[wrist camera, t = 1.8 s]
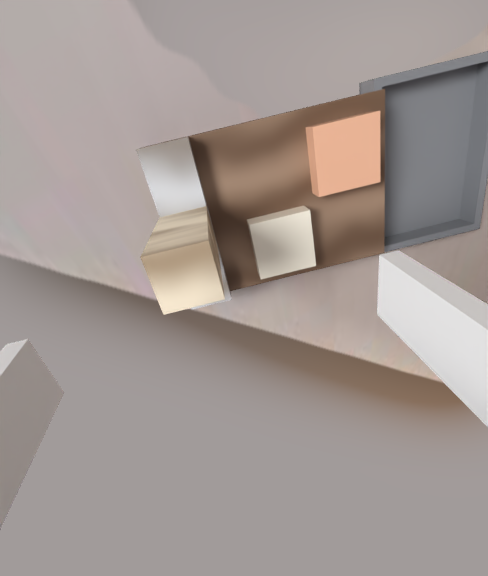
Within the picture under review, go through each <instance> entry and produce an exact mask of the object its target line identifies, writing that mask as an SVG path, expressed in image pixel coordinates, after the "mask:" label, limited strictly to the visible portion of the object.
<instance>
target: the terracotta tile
mask: <svg viewBox="0 0 488 576" xmlns="http://www.w3.org/2000/svg"><path fill="white" fill-rule="evenodd" d="M306 137H307V146H308V156H309V165H310V175H311V185H312V193H313V194H314V195H316V196H318V197H322V196H326V195H330V194H334V193H338V192H342V191H346V190H350V189H354V188H358V187H362V186H366V185H370V184H375V183H379V182H380V111H372V112H366V113H362V114H358V115H354V116H350V117H346V118H342V119H337V120H333V121H329V122H325V123H321V124H317V125H313V126H309V127H306Z"/></svg>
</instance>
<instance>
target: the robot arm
mask: <svg viewBox="0 0 488 576" xmlns="http://www.w3.org/2000/svg"><path fill="white" fill-rule="evenodd" d="M377 315H378V316H379V317H380V318H381V319H382V320H383V321H384V322H385V323H386V324H387V325H388V326H389V327H390V328H391V329H392V330H393V331H394V332H395V333H396V334H397V335H398V336H399V337H400V338H401V339H402V340H403V341H404V342H405V343H406V344H407V345H408V346H409V347H410V348H411V350H412V351H413V352H414V353H415V354H416V355H417V356H418V357H419V358H420V359H421V360H422V361H423V362H424V363H425V364H426V365H427V366H428V367H429V368H430V369H431V370H432V371H433V372H434V373H435V374H436V375H437V376H438V377H439V378H440V379H441V380H442V381H443V382H444V383H445V384H446V385H447V386H448V387H449V388H450V389H451V390H452V391H453V392H454V393H455V394H456V395H457V396H458V397H459V398H460V399H461V400H462V401H463V402H464V403H465V404H466V405H467V406H468V408H469V409H470V410H471V411H472V412H473V413H474V414H475V415H476V416H477V417H478V418H479V419H480V420H481V421H482V422H483V423H484V424H485V425H486V426H487V427H488V304H487V303H485V302H483V301H482V300H480V299H478V298H477V297H475V296H473V295H472V294H470V293H468V292H467V291H465V290H463V289H462V288H460V287H458V286H457V285H455V284H454V283H452V282H450V281H449V280H447V279H445V278H444V277H442V276H440V275H439V274H437V273H435V272H434V271H432V270H430V269H429V268H427V267H425V266H424V265H422V264H420V263H419V262H417V261H416V260H414V259H412V258H411V257H409V256H407V255H406V254H404V253H402V252H401V251H399V250H398V251H393V252H389V253H385V254H381V255H379V277H378V304H377ZM63 394H64V392H63V390H62V389H61V387H60V386H59V384H58V383H57V381H56V380H55V378H54V377H53V375H52V374H51V372H50V371H49V370H48V368H47V366H46V365H45V363H44V362H43V361H42V359H41V358H40V356H39V355H38V353H37V352H36V350H35V349H34V347H33V346H32V344H31V343H30V341H29V340H28V339H26V340H22V341H18V342H14V343H9V344H6V345H5V346H4V348H3V349H2V350H1V351H0V529H1V527H2V525H3V523H4V521H5V518H6V516H7V514H8V512H9V510H10V508H11V505H12V503H13V501H14V499H15V497H16V495H17V493H18V490H19V488H20V486H21V484H22V482H23V479H24V478H25V475H26V473H27V471H28V469H29V467H30V465H31V463H32V460H33V458H34V456H35V454H36V452H37V449H38V447H39V445H40V443H41V441H42V439H43V437H44V435H45V432H46V430H47V428H48V426H49V424H50V422H51V419H52V417H53V415H54V413H55V411H56V409H57V407H58V405H59V402H60V400H61V398H62V396H63Z"/></svg>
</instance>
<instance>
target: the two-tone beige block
mask: <svg viewBox="0 0 488 576" xmlns="http://www.w3.org/2000/svg"><path fill="white" fill-rule="evenodd" d="M136 151H137V154H138V157H139V160H140V163H141V166H142V169H143V171H144V174H145V177H146V180H147V183H148V186H149V189H150V191H151V194H152V197H153V200H154V203H155V206H156V209H157V212H158V214H159V217H160V218H159V220H158V222H157V224H156V226H155V228H154V230H153V232H152V234H151V236H150V238H149V241H148V243H147V245H146V247H145V249H144V251H143V253H142V255H141V257H140V258H141V260H142V262H143V265H144V267H145V270H146V272H147V275H148V277H149V280H150V282H151V285H152V287H153V290H154V292H155V295H156V297H157V300H158V302H159V305H160V307H161V309H162V312H163V314H168V313H172V312H176V311H180V310H184V309H188V308H191V309H196V308H200V307H204V306H208V305H212V304H216V303H220V302H224V301H228V300H232V299H231V293H230V289H229V285H228V281H227V277H226V274H225V270H224V266H223V263H222V259H221V255H220V251H219V248H218V244H217V240H216V237H215V233H214V229H213V225H212V222H211V218H210V214H209V211H208V207H207V203H206V199H205V196H204V192H203V188H202V185H201V181H200V177H199V173H198V170H197V166H196V162H195V159H194V155H193V151H192V147H191V144H190V140H189V137H185V138H181V139H177V140H173V141H169V142H165V143H160V144H156V145H152V146H148V147H144V148H140V149H137V150H136Z"/></svg>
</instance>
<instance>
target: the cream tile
mask: <svg viewBox="0 0 488 576" xmlns="http://www.w3.org/2000/svg"><path fill="white" fill-rule="evenodd" d="M247 224H248V228H249V233H250V238H251V242H252V247H253V252H254V256H255V261H256V266H257V271H258V274H259V276H260V279H265V278H269V277H273V276H277V275H281V274H285V273H289V272H293V271H297V270H301V269H305V268H309V267H313V266H316V259H315V250H314V241H313V232H312V223H311V214H310V210H309V209H308V208H307V207H305V206H300V207H296V208H292V209H288V210H284V211H280V212H276V213H272V214H267V215H263V216H259V217H255V218H251V219H247Z"/></svg>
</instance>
